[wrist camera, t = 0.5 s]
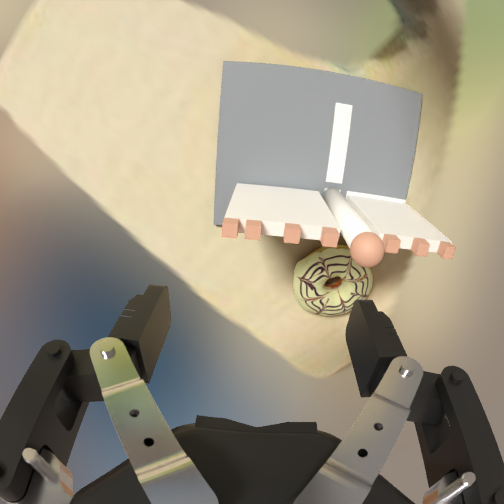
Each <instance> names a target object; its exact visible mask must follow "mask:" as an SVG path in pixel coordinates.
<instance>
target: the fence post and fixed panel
mask: <svg viewBox="0 0 504 504" xmlns="http://www.w3.org/2000/svg"><path fill="white" fill-rule="evenodd" d="M322 198H323V200H324V201H325V203H326V204H327V206H328V208H329V209H330V211H331V213H332V214H333V216H334V218H335V220H336V221H337V223H338V225H339V226H340V228H341V230H340V232H341V234H342V236H343V237H344V239H345V241H346V243H347V245H348V246H349V248H350V254H351V257H352V259H353V261H354V262H355V263H356V264H357V265H359V266H361V267H365V268H370V267H373V266H376V265H377V264H378V263H379V262H380V261H381V260H382V259H383V256H384V253H385V252H387V253H398V250H399V248H401V249H410V250H411V251H412V252H413V253H414V254H415V255H416V256H427V253H428V252H437V253H438V254H439V255H440V256H441V257H442V258H444V259H452V258H453V255H454V252H455V249H456V247H455V246H453V245H452V244H453V242H452V241H450V240H449V239H448V238H447V237H446V236H444V235H443V234H442V233H441V232H440V231H439V230H438V229H436V228H435V227H434V226H433V225H432V224H431V223H429V222H428V221H427V220H426V219H425V218H423V217H422V216H421V215H420V214H418V213H417V212H416V211H415V210H413V209H412V208H411V207H410V206H408V205H407V204H404V203H398V202H392V201H386V200H379V199H373V198H366V197H359V196H352V195H347V199H346V198H345V197H344V196H343V195H342V194H341V192H340V191H339V190H338V189H336V188H334V187H330V188H328V189H326V190H325V191H324V192H323V194H322Z"/></svg>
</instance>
